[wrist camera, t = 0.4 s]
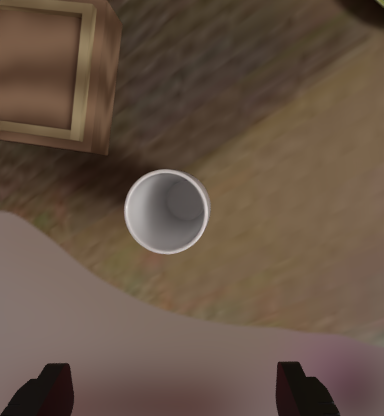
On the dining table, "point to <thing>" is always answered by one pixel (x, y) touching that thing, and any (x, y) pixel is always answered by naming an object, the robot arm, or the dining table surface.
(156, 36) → the dining table surface
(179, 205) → the drinking glass
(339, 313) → the dining table surface
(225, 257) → the dining table surface
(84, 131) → the wooden box
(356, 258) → the dining table surface
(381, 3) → the saucer
